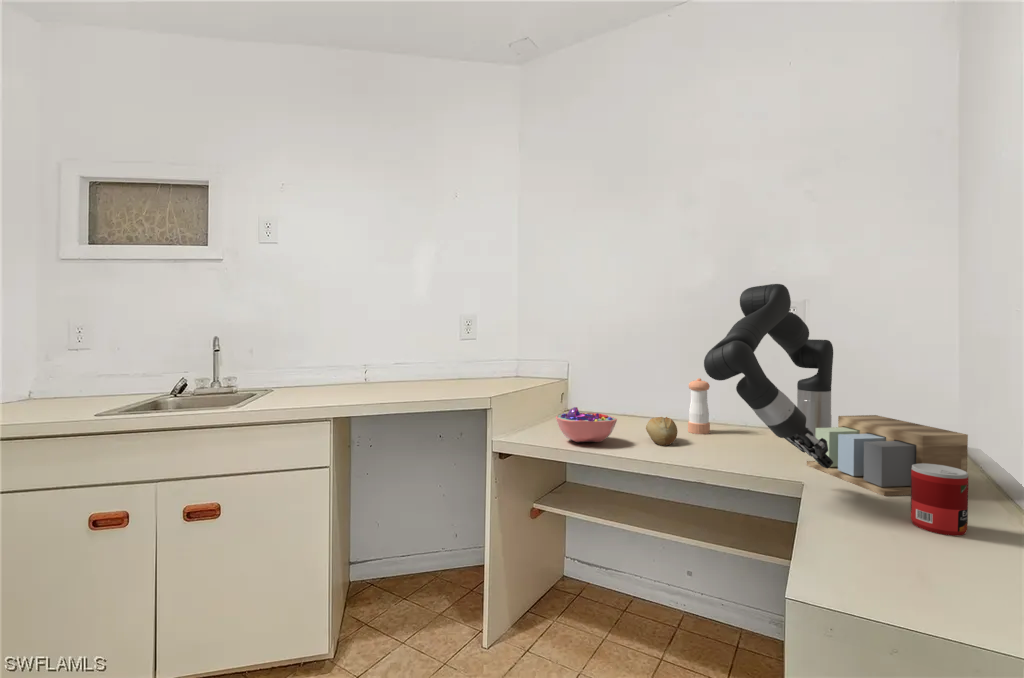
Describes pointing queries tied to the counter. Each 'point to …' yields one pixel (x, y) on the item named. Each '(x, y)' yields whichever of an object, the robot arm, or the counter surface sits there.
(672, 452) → the counter surface
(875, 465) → the charcoal key
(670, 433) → the bread roll
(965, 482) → the canned food
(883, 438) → the blue-grey key
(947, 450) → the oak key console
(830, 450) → the sage key
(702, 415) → the salt shaker
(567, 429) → the cell model
